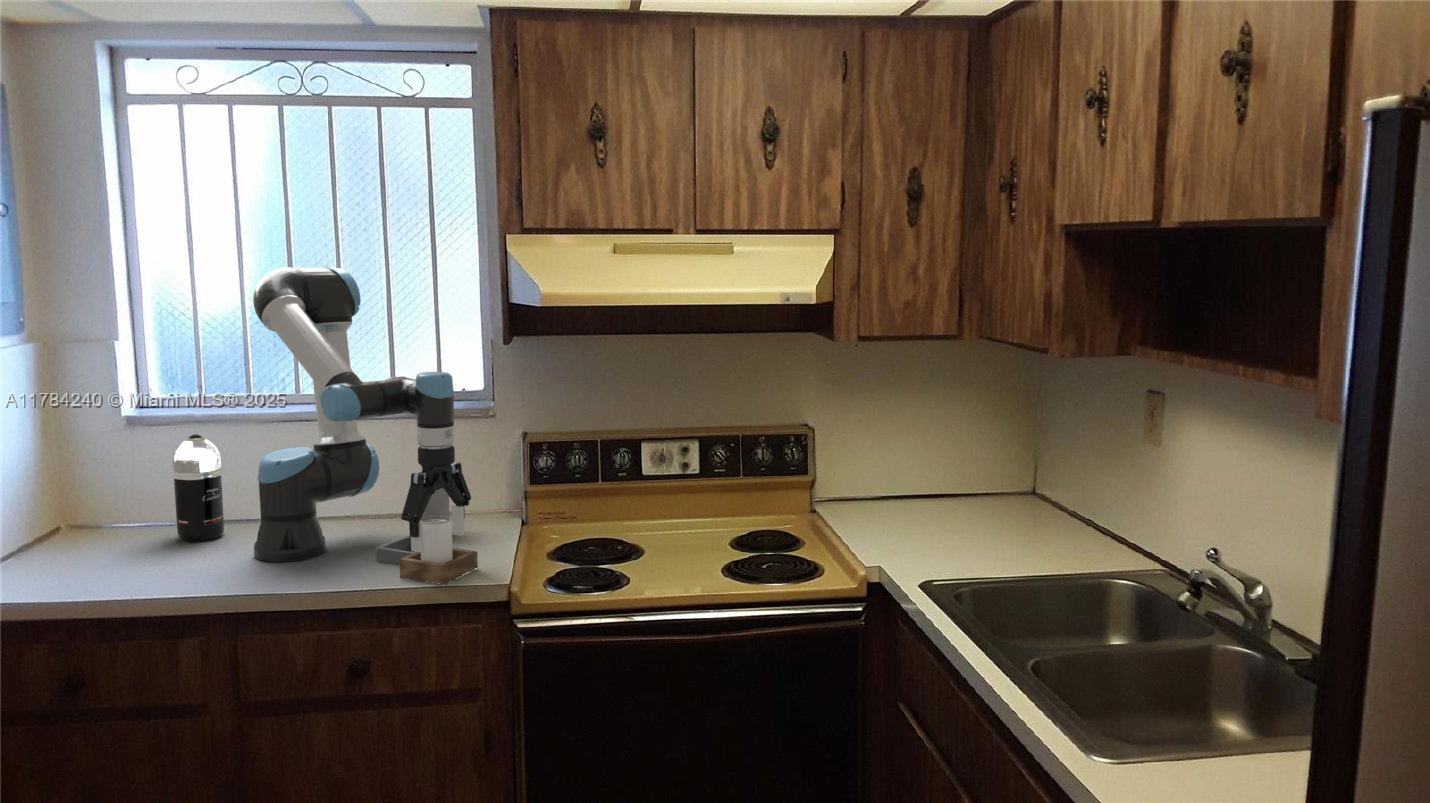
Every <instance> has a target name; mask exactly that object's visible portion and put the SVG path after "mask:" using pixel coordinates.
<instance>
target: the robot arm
mask: <svg viewBox="0 0 1430 803" xmlns="http://www.w3.org/2000/svg"><path fill="white" fill-rule="evenodd" d="M354 278H355V277H353V276H352V275H351V273H350V272H348V271H347V270H345V269H343V268H340V267H339V268H338V267H336V268H335V267H330V266H326V267H279V268H275V269H273V270H271V271H269V272H267V273H266V274H265V275H264V276H262V277H261V279H260V280H259V281H258V282H257V284H256V286H255V289H254V292H253V298H252V301H253V302H252V303H253V308H254V311H255V315H256V316H257V318H258V319H259V321H260V322H261V323H262V325H263V326H264V328H266V329H268V330H269V331H271V332H273V333H275V334H276V335H277V336H278V337H279V339H280V340H281V341H282V342H283V343H284V345H285V346H286V347H287V349H288V350H289V351H290V352H291V354H292V355H293V357H295V360H297V361H298V362H299V364H300V366H302V368H303V369H304V370H305V371H306V373H307V374H308V375H309V377H310V378H311V379H312V382H313V383H312V385H313V391H314V392H313V394H314V400H315V401H314V402H315V409H316V419H317V427H318V437H317V438H316V440H315V441H314V442H313V448H311V447H307V446H297V447H288V448H283V449H278V450H275V451H271V452H269V453H267V454H266V455H264V456H263V457H262V458H261V459H260V460H259V462H258V472H257V473H258V475H257V480H258V492H259V510H260V525H259V528H258V532H257V536H256V537H257V538H256V541H255V542H254V545H253V556H254V558H255V559H256V560H259V561H264V562H270V563H282V562H284V563H286V562H295V561H302V560H306V559H307V560H308V559H311V558H314V557H316V556H317V557H318V556H320V555H321V554H323V553H325V552H326V551H327V540H326V537H325V536H324V535H323V531H322V527H321V525H320V522H319V520H318V515H317V503H321V502H322V503H323V502H328V501H332V500H337V499H343V498H346V497H348V498H349V497H351V498H352V497H355V496H358V495H361V494H365V493H367V492H369V491H370V490H372V488H374V485H375V484H376V482H377V480H378V477H379V472H380V460H379V456H378V454H377V453H376V449H375V448H374V447H373V446H372V445H371V444H367V440H366V436H364V435H363V434H361V432H359V430H358V429H359V427H358V420H363V419H364V420H365V419H370V418H377V417H384V416H386V417H387V416H393V415H394V416H395V415H402V414H410V415H415V416H416V434H417V435H416V438H417V439H416V442H417V445H419V447H417V463H418V464H419V465H420V466H421V473H420V472H418V473H420V474H418V473H417V472H416V473H415V472H411V475H410V485H409V489H408V493H407V495H406V500H405V502H404V506H403V510H402V513H401V520H402V521H405V522H408V524H409V527H408V528H409V529H408V530H409V535H410V537H411V550H410V552H421V553H422V552H424V527H423V521H420V520H421V518H422V515H423V513H424V511H425V509H426V507H427V504H428V502H429V500H430V498H431V495H432V494H434V493H435V491H436V490H439V489H440V488H444V490H445V491H446V492H447V494H448V495H449V499H451V501H452V502H453V505H451V526H452V536H453V535H454V536H461V537H464V536H465V517H466V513H465V511H466V510H465V507H467V506H469V505H470V501H471V500H472V495H471V492H470V490H469V488H468V485H467V482H466V478H465V477H464V473H463V470H462V468H463V467H462V463H461V462H456V455H455V454H456V453H455V452H456V448H455V446H454V445H453V444H454V443H455V432H454V431H455V428H454V426H455V424H454V423H455V406H454V404H455V403H454V402H455V400H454V399H455V391H454V382H453V380H454V379H453V376H452V374H451V373H449V372H444V371H424V372H420V373H417V375H416V377H415V378H409V377H406V376H402V375H401V376H391V377H388V378H387V379H384V380H373V381H372V380H371V381H362V380H361V378H360V377H358V375H357V374H356V373H355V372H354V370H353V369H352V368H351V360H350V349H349V342H348V332H347V331H348V329H349V328H350V327H352V325H353V317H354V316H355V315H357V313H358V312H359V311H360V306H361V293H360V288H359V286H358V283H357V281H356V280H355V279H354ZM425 487H427V488H425ZM416 514H417V515H416Z"/></svg>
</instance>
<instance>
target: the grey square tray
mask: <svg viewBox="0 0 1430 803" xmlns="http://www.w3.org/2000/svg"><path fill="white" fill-rule="evenodd" d="M409 550H410V551H409ZM413 553H415V551H411V537H410V534H409V535H405V536H404V537H400V538H397V539H396V540H393V541H390V542H388V543H387V542H386V543H384V544H382V545H379V546H377V547H375V561H376V562H380V563H381V562H383V563H388V564H393V565H399V559H401V558H403V557H406V556H408V555H410V554H413Z"/></svg>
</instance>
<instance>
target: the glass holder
mask: <svg viewBox="0 0 1430 803" xmlns="http://www.w3.org/2000/svg"><path fill="white" fill-rule="evenodd" d="M421 472H422V471H421ZM421 472H418V474H420V473H421ZM425 488H427V487H425ZM416 515H417V514H416ZM435 516H442V517H448V518H449V519H450V497H449V495H448V494H447V492H446V491H445V490H444V488H440V489H439V490H436V491H435V493H434V494H432V495H431V498H430V500H429V502H428V504H427V507H426V509H425V511H424V513H423V515H422V518H421V520H420V521H422V520H423V519H425V518H428V517H435ZM449 522H450V523H451V521H450V520H449Z"/></svg>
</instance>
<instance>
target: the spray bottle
mask: <svg viewBox="0 0 1430 803" xmlns="http://www.w3.org/2000/svg"><path fill="white" fill-rule="evenodd" d="M171 460H172V474H173V475H172V478H173V485H174V488H173V489H174V499H175V501H174V502H175V515H176V516H175V517H176V532H177V537H178V539H180V540H181V541H184V542H189V543H197V542H198V543H199V542H207V541H212V540H215V539H217V538H220V537H222V536H223V534H224V533H225V520H224V518H225V517H224V503H223V502H224V501H223V486H222V484H223V483H222V474H223V472H222V466H221V462H222V461H221V454H220V451H219V449H218V448H217V446H216V445H215V444H214V443H212V442H211V441H209V440H208V439H206V438H205V437H203V436H202V435H200V434H198V433H195V434H194V433H193V434H190V436H188V437H187V438H186V439H185V440H184V441H183V442H181V443H180V444H179V445H178V446H177V447H176V449H175V451H174V452H173V455H172V459H171Z"/></svg>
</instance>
